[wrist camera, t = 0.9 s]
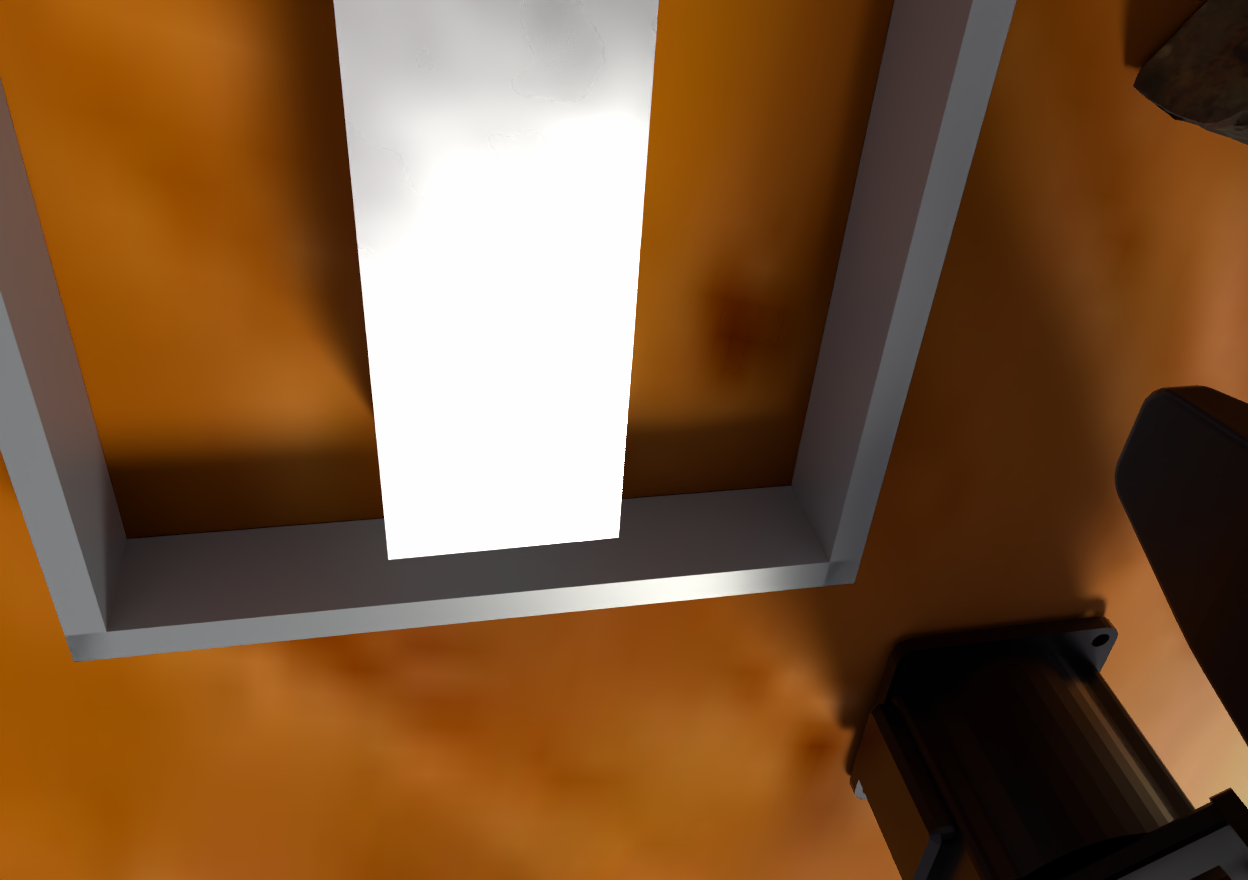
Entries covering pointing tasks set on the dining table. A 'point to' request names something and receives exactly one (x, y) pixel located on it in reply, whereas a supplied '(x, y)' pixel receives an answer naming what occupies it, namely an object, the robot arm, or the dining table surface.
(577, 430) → the white square bar
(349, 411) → the dining table surface
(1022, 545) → the dining table surface
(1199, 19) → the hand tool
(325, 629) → the case
